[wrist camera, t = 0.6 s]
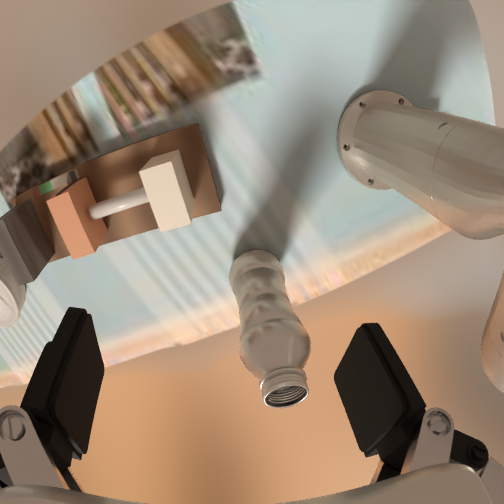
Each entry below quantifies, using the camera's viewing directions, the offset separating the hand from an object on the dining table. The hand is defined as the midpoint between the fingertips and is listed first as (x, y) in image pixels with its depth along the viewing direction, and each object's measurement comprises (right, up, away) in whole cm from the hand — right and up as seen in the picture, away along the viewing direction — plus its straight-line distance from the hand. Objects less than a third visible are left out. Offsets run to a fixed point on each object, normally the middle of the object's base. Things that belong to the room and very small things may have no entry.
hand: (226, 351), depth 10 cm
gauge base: (-16, +10, +22) cm, 29 cm away
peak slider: (-18, +9, +20) cm, 29 cm away
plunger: (-11, +10, +21) cm, 26 cm away
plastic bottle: (+1, +2, +30) cm, 30 cm away
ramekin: (-38, -1, +26) cm, 46 cm away
